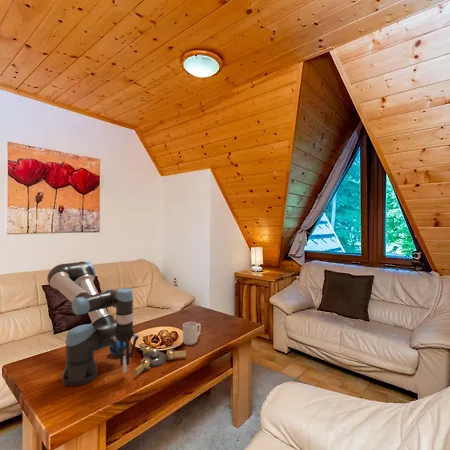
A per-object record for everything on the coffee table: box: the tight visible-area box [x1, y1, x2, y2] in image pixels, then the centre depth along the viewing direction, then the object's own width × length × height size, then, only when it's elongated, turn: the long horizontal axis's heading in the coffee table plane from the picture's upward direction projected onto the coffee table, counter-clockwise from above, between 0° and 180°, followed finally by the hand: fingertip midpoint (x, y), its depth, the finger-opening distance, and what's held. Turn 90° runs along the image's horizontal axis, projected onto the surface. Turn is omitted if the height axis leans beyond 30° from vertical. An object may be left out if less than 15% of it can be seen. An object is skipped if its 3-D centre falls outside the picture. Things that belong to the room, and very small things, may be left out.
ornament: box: [109, 342, 126, 356], centre depth 157 cm, size 9×9×10 cm
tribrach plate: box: [142, 348, 167, 368], centre depth 150 cm, size 12×12×6 cm
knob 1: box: [138, 343, 152, 357], centre depth 158 cm, size 10×4×4 cm, turn 42°
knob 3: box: [166, 349, 187, 361], centre depth 152 cm, size 10×4×4 cm, turn 102°
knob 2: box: [134, 358, 151, 376], centre depth 139 cm, size 10×4×4 cm, turn 162°
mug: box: [182, 321, 202, 346], centre depth 174 cm, size 12×9×11 cm
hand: (125, 371), depth 135 cm, fingers closed
